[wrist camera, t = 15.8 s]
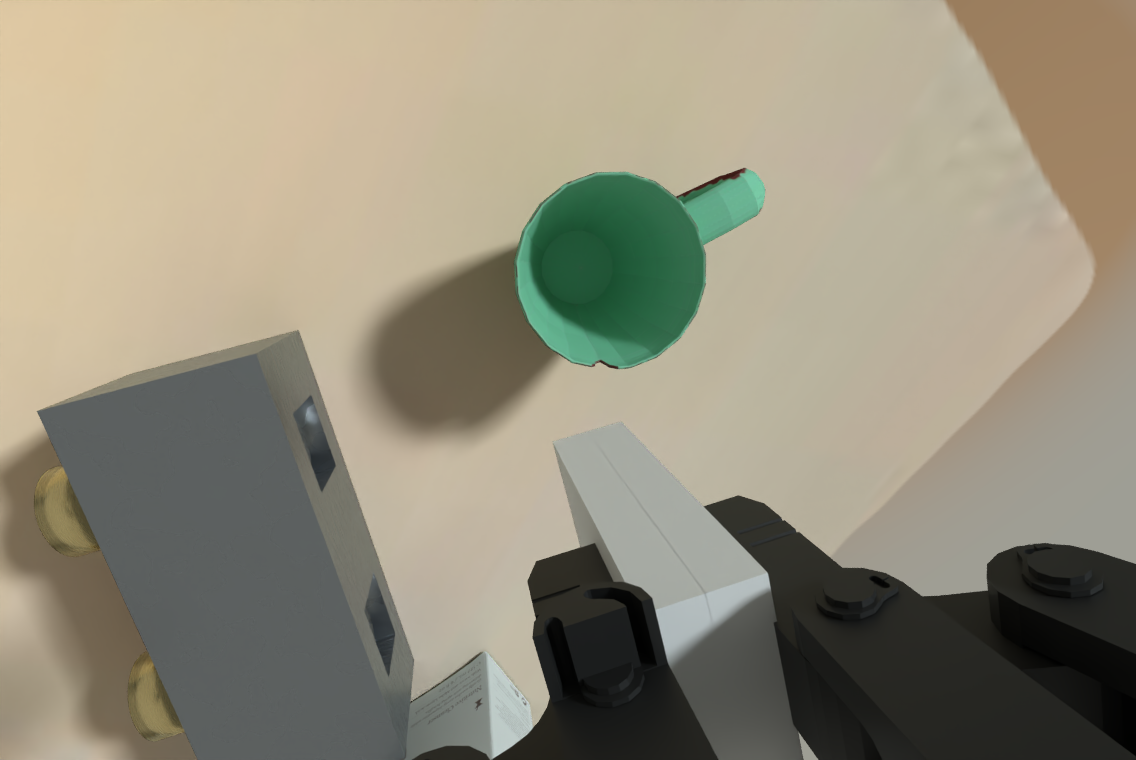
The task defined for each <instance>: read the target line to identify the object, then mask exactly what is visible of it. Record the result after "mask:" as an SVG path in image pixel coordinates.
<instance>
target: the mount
mask: <svg viewBox="0 0 1136 760" xmlns="http://www.w3.org/2000/svg"><path fill="white" fill-rule="evenodd" d="M37 412H38V414H39V417H40V419H41V421H42V423H43V425H44V427H45V430H46V432H47V434H48V436H49V438H50V440H51V443H52V445H53V447H54V449H55V451H56V453H57V456H58V458H59V460H60V462H61V464H62V466H63V469H64V471H65V473H66V475H67V477H68V479H69V482H70V484H71V486H72V488H73V490H74V492H75V495H76V497H77V499H78V501H79V503H80V506H81V508H82V510H83V512H84V514H85V516H86V519H87V521H88V523H89V525H90V527H91V529H92V532H93V534H94V536H95V538H96V540H97V542H98V545H99V547H100V549H101V551H102V553H103V555H104V558H105V560H106V562H107V564H108V566H109V568H110V571H111V573H112V575H113V577H114V579H115V581H116V584H117V586H118V588H119V590H120V592H121V594H122V597H123V599H124V601H125V603H126V605H127V607H128V610H129V612H130V614H131V616H132V618H133V620H134V623H135V625H136V627H137V629H138V631H139V633H140V636H141V638H142V640H143V642H144V644H145V646H146V649H147V651H148V653H149V655H150V657H151V659H152V662H153V664H154V666H155V668H156V670H157V672H158V675H159V677H160V679H161V681H162V683H163V686H164V688H165V690H166V692H167V694H168V696H169V699H170V701H171V703H172V705H173V707H174V709H175V712H176V714H177V716H178V718H179V720H180V722H181V725H182V727H183V729H184V731H185V733H186V735H187V738H188V740H189V742H190V744H191V746H192V748H193V751H194V753H195V755H196V757H197V759H198V760H401V759H403V758H405V754H406V743H407V732H408V721H409V710H410V699H411V688H412V677H413V666H414V659H413V656H412V654H411V651H410V648H409V645H408V642H407V639H406V636H405V634H404V631H403V628H402V625H401V622H400V619H399V616H398V614H397V611H396V608H395V605H394V602H393V599H392V596H391V594H390V591H389V588H388V585H387V582H386V579H385V576H384V573H383V571H382V568H381V565H380V562H379V559H378V556H377V553H376V551H375V548H374V545H373V542H372V539H371V536H370V533H369V531H368V528H367V525H366V522H365V519H364V516H363V513H362V511H361V508H360V505H359V502H358V499H357V496H356V493H355V491H354V488H353V485H352V482H351V479H350V476H349V473H348V471H347V468H346V465H345V462H344V459H343V456H342V453H341V451H340V448H339V445H338V442H337V439H336V436H335V433H334V430H333V428H332V425H331V422H330V419H329V416H328V413H327V410H326V408H325V405H324V402H323V399H322V396H321V393H320V390H319V388H318V385H317V382H316V379H315V376H314V373H313V370H312V368H311V365H310V362H309V359H308V356H307V353H306V350H305V348H304V345H303V342H302V339H301V336H300V333H299V330H297V331H293V332H290V333H286V334H282V335H278V336H274V337H271V338H267V339H263V340H259V341H255V342H251V343H248V344H244V345H240V346H236V347H232V348H229V349H225V350H221V351H217V352H213V353H209V354H206V355H202V356H198V357H194V358H190V359H186V360H183V361H179V362H175V363H171V364H167V365H164V366H160V367H156V368H152V369H148V370H144V371H141V372H137V373H133V374H129V375H127V376H124V377H122V378H119V379H117V380H114V381H112V382H109V383H107V384H104V385H102V386H99V387H97V388H94V389H92V390H89V391H87V392H84V393H82V394H79V395H76V396H74V397H71V398H69V399H66V400H64V401H61V402H59V403H56V404H54V405H51V406H49V407H46V408H44V409H41V410H39V411H37ZM295 420H296V421H297V422H298V423H299V425H300V426H301V428H302V430H303V432H304V434H305V437H306V440H307V443H308V447H309V451H310V456H311V463H310V460H309V457H308V454H307V452H306V449H305V446H304V443H303V441H302V438H301V435H300V432H299V430H298V427H297V424H296V421H295ZM365 606H366V607H367V609H368V611H369V614H370V617H371V621H372V625H373V630H374V636H373V633H372V631H371V628H370V625H369V622H368V620H367V617H366V614H365V611H364V610H365ZM374 638H375V639H374Z"/></svg>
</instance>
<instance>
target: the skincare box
mask: <svg viewBox="0 0 1136 760" xmlns="http://www.w3.org/2000/svg"><path fill="white" fill-rule="evenodd" d="M532 729H533V725H532V718H531V711H530V705H529V703H528V701H527V700H526V699H525V698H524V696H523V695H522V694H521V693H520V692H519V690H518V689H517V688H516V687H515V686H514V684H513V683H512V682H511V681H510V679H509V678H508V677H507V676H506V675H505V673H504V672H503V671H502V669H501V668H500V667H499V666H498V665H497V663H496V662H495V661H494V660H493V659H492V658H491V656H490V655H489V654H488V653H487V652H483V653H482V654H480V655H479V656H478V657H477V658H475V660H473V661H472V662H471V663H470V664H468V665H467V666H465V667H464V668H463V669H461V670H460V671H458V672H457V673H456V674H454V675H453V676H451V677H450V678H448V679H447V680H445V681H444V682H442V683H441V684H440V685H438V686H437V687H435V688H434V689H432V690H430V691H429V692H427V693H426V694H424V695H423V696H421V697H420V698H418V699H416V700H415V701H413V702H412V703H410V710H409V721H408V732H407V743H406V754H405V758H403V759H401V760H412V759H414V758H415V757H417V756H419V755H420V754H422V753H425V752H428V751H431V750H434V749H437V748H441V747H444V746H470V747H473V748H475V749H477V750H479V751H481V752H483V753H485V754H487V756H488V757H489V759H490V760H492V759H493V758H495V757H496V756H498V755H499V754H501V753H503V752H504V751H506V750H507V749H509V748H510V747H512V746H513V745H514V744H516V743H517V742H518V741H519V740H521V739H522V738H523V737H525V736H526V735H527V734H528V733H529V732H530V731H531V730H532Z"/></svg>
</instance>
